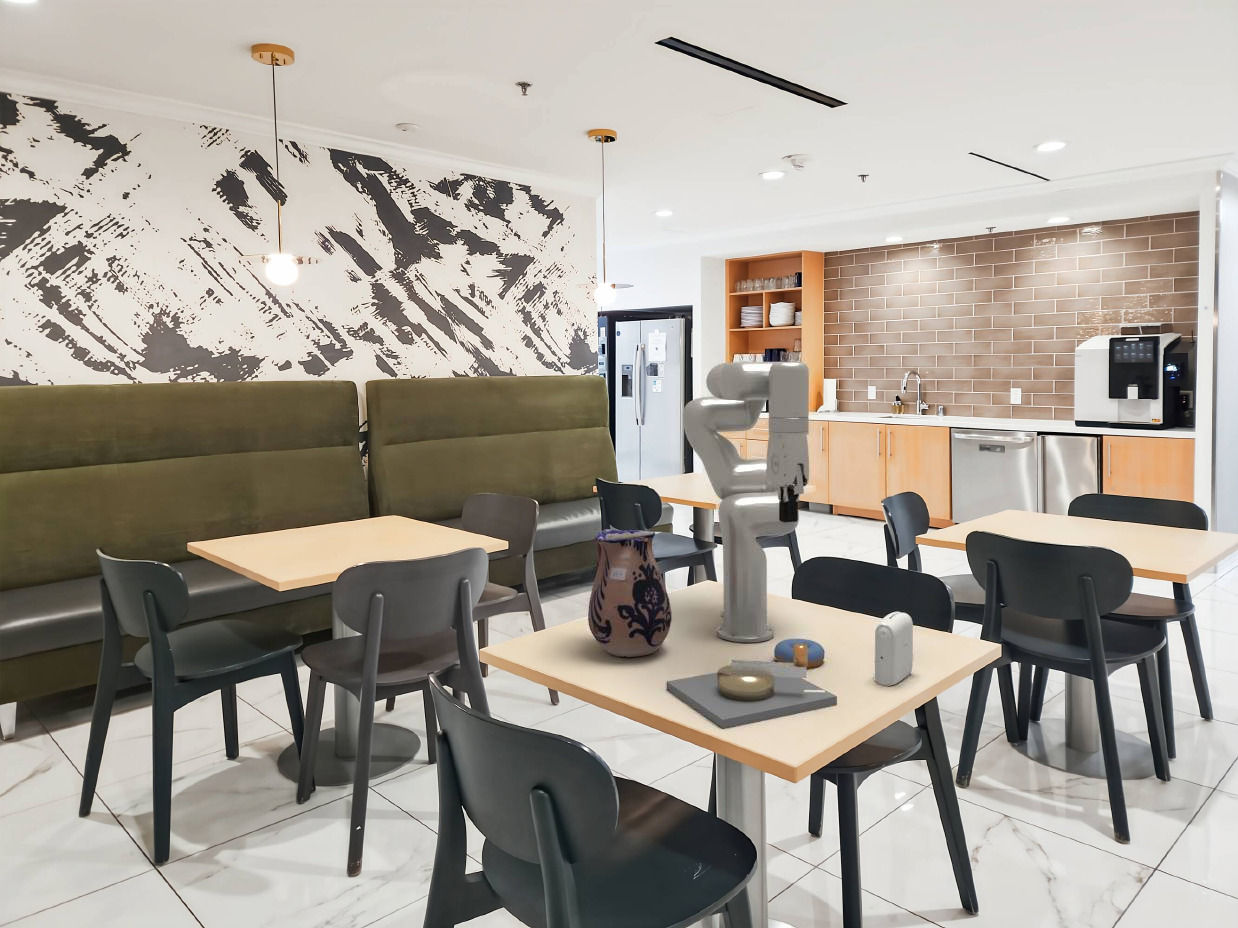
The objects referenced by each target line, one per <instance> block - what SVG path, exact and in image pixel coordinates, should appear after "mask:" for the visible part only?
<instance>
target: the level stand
mask: <svg viewBox="0 0 1238 928" xmlns="http://www.w3.org/2000/svg"><path fill="white" fill-rule="evenodd" d="M667 689H668V690H669V691H668V690H667ZM666 690H667V691H668V692H670V693H671V692H672V693H671V694H672V695H674V694H675V695H676V696H675V695H674V696H675V697H677V696H678V697H679V698H678V697H677V698H678V699H679V700H681V699H682V700H681V701H683V702H684V701H685V702H686V703H685V702H684V703H685V704H687V705H688V704H689V705H688V706H689V707H691V708H693V709H694V710H695V709H696V710H695V711H697V712H699V713H700V714H701V713H702V714H701V715H703V716H704V717H705V716H706V717H705V718H707V719H708V720H710V721H712V722H713V723H714V724H715V725H717V726H719V727H720V728H721V729H727V728H728V729H729V728H733V727H736V726H737V727H738V726H741V725H747V724H750V723H755V722H760V721H766V720H769V719H775V718H780V717H784V716H789V715H790V716H791V715H793V714H798V713H802V712H803V713H804V712H807V711H813V710H817V709H821V708H822V709H823V708H827V707H831V706H837V705H838V695H836V694H833V693H832V692H830V691H828V690H825V689H824V688H822V687H820V686H818V685H816V684H814V683H812V682H810V681H808V680H807V679H805V678H792V677H774V694H773V695H771V696H770V697H767V698H764V699H759V700H738V699H732V698H729V697H726V696H723V695H722V694H720V693H719V692H718V690H717V672H712V673H706V674H700V675H695V676H689V677H684V678H678V679H673V680H666Z"/></svg>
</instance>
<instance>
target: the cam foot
mask: <svg viewBox="0 0 1238 928" xmlns="http://www.w3.org/2000/svg"><path fill="white" fill-rule="evenodd" d="M807 666H808V645H806V644H802V643H798V644H794V663H783V662H778V661H761V660H759V661H758V660H756V661H755V660H738V659H731V663H730V664H729V665H725V666H722V667H721V668H719V669H718V670H717V671H716V673H717V690H718V692H719V693H720V694H722V695H723V696H726V697H729V698H732V699H738V700H759V699H764V698H767V697H770V696H771V695H773V694H774V677H792V678H802V679H807V668H806V667H807Z"/></svg>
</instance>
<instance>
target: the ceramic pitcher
mask: <svg viewBox="0 0 1238 928" xmlns="http://www.w3.org/2000/svg"><path fill="white" fill-rule="evenodd" d="M655 535H656V532H654V531H646V530H641V529H639V530H638V529H637V530H633V529H629V530H626V529H625V530H617V529H610V528H609V529H608V528H606V529H604V530H601V531H600V532H598V533H597V534H596V535H595V537H594V539H595V540H596V543H595V544H596V556H597V561H598V566H597V569H596V575H595V577H594V581H593V584H592V589H591V593H590V596H589V601H588V612H587V614H588V615H587V620H588V627H589V630H590V632H591V634H592V636H593V637H594V639H595V641H596V642H597V644H599V646H600V647H601V648H602V649H603V650H605V651H606V652H608V653H609V654H611V655H612V654H613V656H615V655H616V656H615V657H621V656H622V657H624V656H625V657H626V658H634V657H635V658H637V657H642V656H648V655H650V654H652V653H654V652H655V651H657V649H659V647H661V646H662V645H663V644H664V642H665V640H666V639H667V637H668V634H669V632H670V629H671V624H672V616H673V615H672V607H671V603H670V598H669V595H668V592H667V588H666V585H665V583H664V580H663V577H662V574H661V572H660V569H659V566H658V564H657V560H656V558H655V555H654V551H653V539H654V537H655Z"/></svg>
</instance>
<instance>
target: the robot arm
mask: <svg viewBox="0 0 1238 928" xmlns="http://www.w3.org/2000/svg"><path fill="white" fill-rule="evenodd" d="M809 376H810V370H809V367H808V365H807V364H806V363H804V362H802V361H751V362H750V361H747V360H745V361H733V362H723V363H720V364H717V365H715V366H713V368H711V369H710V371H709V372H708V374H707V377H706V380H705V381H706V382H705V383H706V388H707V390H708V391H709V393H710V394H711V395H712V396H703V397H697V398H694V399H692V400H691V401H689V402H688V403H687V404H685V406H684V408H683V411H682V412H683V413H682V423H683V429H684V434H685V437H686V439H687V440H688V442H689V445H690V446H691V448H692V449H693V451H694V452H695V453H696V454H697V456H698V458H699V459H700V460H701V462H702V464H703V466H704V470H705V472H706V474H707V476H708V477H707V478H708V479H709V482H710V485H711V486H712V488H713V491H714V493H715V495H716V496H717V497H718V498H719V500H721V502H720V503H719V506H718V510H717V511H718V512H717V513H718V521H719V522H718V523H719V527H720V533H721V541H722V565H723V567H722V568H723V571H722V572H723V611H722V610H721V611H720V612H719V613H718V616H719V617H720V618H721V619H722V624H721V625H719V626H718V627H717V628H716V635H717V636H718V637H719V638H720V639H723V640H725V641H728V642H729V641H730V642H735V643H748V644H749V643H750V644H751V643H759V642H760V643H761V642H765V641H770V640H771V639H772V638H773V637H774V636H775V629H774V628H773V627H771V626H769V625H768V602H767V601H768V589H767V588H768V586H767V585H768V583H767V582H768V577H767V576H768V570H767V569H768V567H767V566H768V565H767V563H768V561H767V555H766V552H765V550H764V549H763V547H762V546H761V545H760V543H759V542H757V538H758V537H763V536H767V537H768V536H778V535H787V534H791V533H793V531H795V530H796V528H797V527H798V525H799V521H800V513H799V501H800V495H803V494H804V492H805V490H804V489H805V488H804V487H806V486H807V485H808V484H809V481H810V458H809V457H810V456H809V453H810V452H809V443H808V435H809V434H810V432H809V427H810V426H809V423H810V422H809V421H810V420H809V419H810V418H809V415H810V414H809V412H810V411H809V410H810V409H809V406H810V402H809V400H810V399H809V397H810V395H809V394H810V391H809V389H810V387H809V385H810V381H809V380H810V377H809ZM767 401H768V440H767V449H766V458H757V459H755V458H754V459H753V458H752V459H751V458H750V459H745V458H741V456H740V455H739V452H738V450H737V449H738V448H736V446H735V444H733V443H732V442H731V440H729V439H728V438H726V437H725V436H723V435H722V434H720V433H725V432H744V431H750V430H751V429H753V428H754V427H755V426H756V424H757V422H758V421H759V418H760V415H761V414H762V411H763V408H764V407H765V404H766V402H767Z"/></svg>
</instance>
